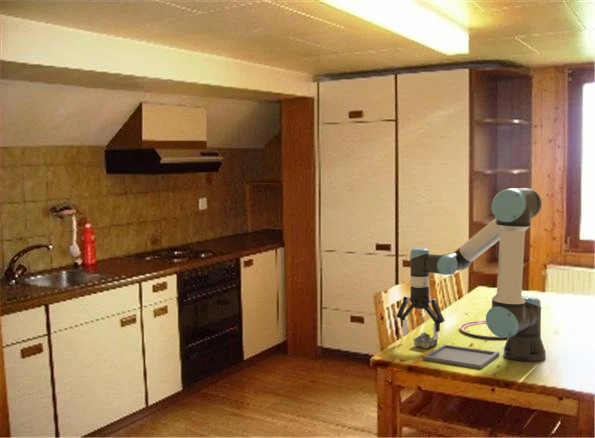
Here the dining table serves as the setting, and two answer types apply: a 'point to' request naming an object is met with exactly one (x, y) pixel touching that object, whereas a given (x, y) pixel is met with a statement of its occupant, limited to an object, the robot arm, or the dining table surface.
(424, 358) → the holder tray
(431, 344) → the egg carton
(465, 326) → the striped ring
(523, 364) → the dining table surface
